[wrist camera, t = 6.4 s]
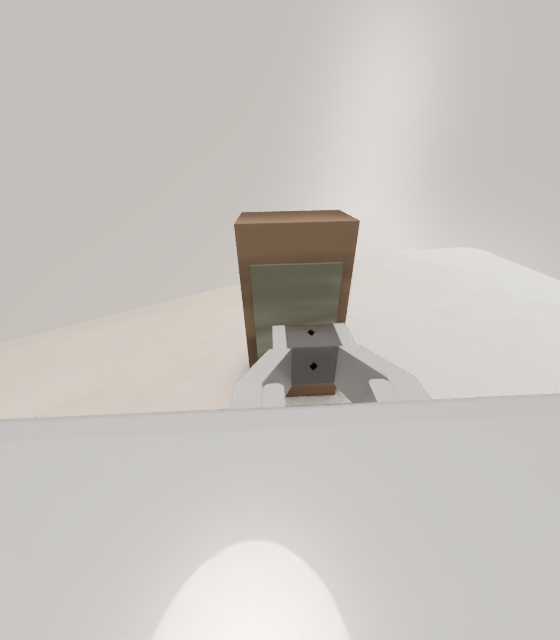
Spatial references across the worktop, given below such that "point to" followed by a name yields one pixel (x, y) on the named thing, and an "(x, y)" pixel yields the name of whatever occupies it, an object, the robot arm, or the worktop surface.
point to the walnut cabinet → (294, 275)
